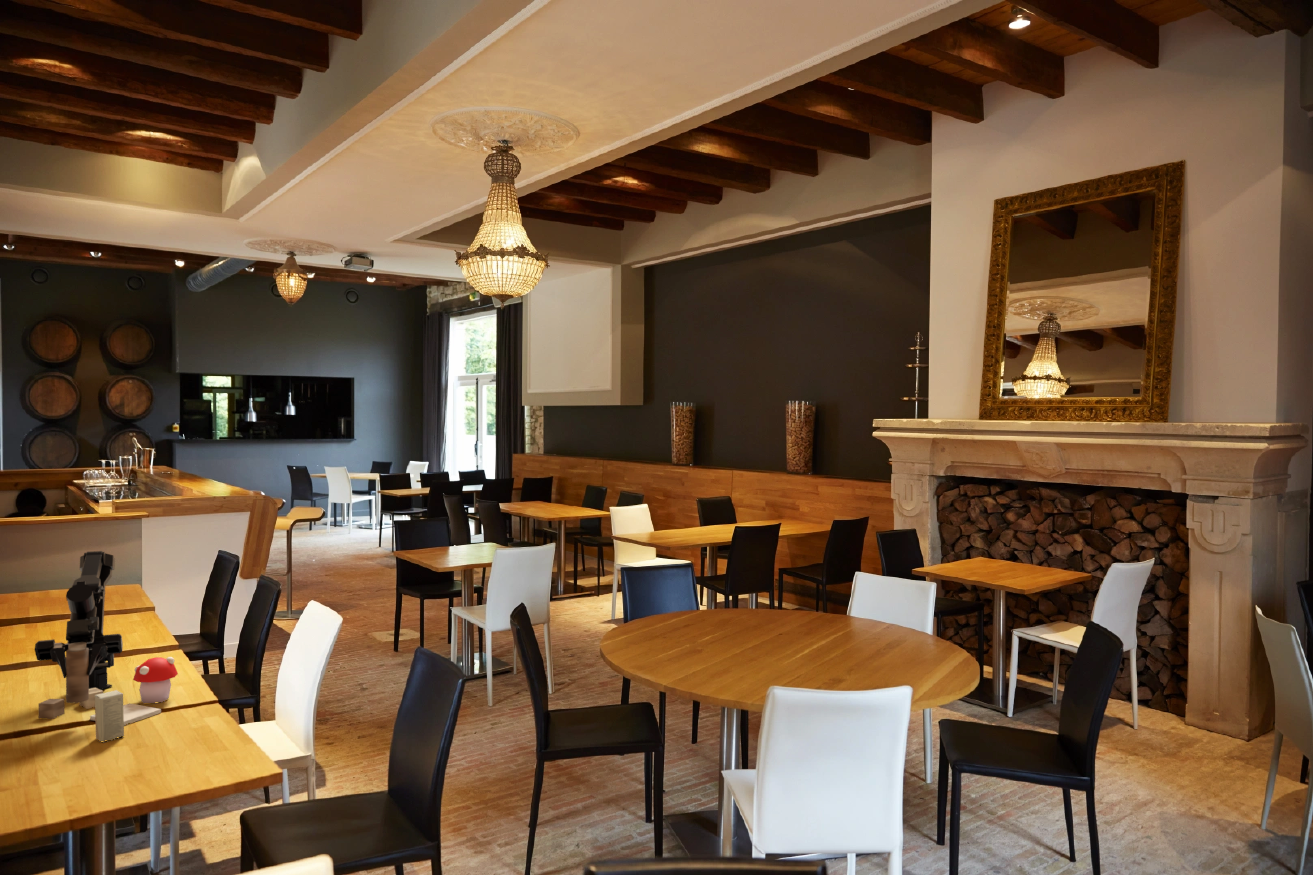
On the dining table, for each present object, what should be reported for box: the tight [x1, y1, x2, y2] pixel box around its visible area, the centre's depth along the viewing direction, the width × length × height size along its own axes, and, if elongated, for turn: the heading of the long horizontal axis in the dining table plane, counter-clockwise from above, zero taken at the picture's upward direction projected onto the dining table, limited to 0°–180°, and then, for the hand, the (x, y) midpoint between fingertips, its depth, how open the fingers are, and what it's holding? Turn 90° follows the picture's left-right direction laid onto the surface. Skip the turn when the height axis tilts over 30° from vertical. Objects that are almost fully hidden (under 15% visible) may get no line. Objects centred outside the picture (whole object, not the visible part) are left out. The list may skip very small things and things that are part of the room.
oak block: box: [78, 688, 104, 709], centre depth 235 cm, size 5×4×4 cm
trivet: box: [89, 702, 162, 726], centre depth 227 cm, size 12×11×1 cm
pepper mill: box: [65, 642, 89, 704], centre depth 220 cm, size 5×5×14 cm
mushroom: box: [132, 656, 179, 704], centre depth 240 cm, size 11×11×12 cm
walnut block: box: [38, 698, 65, 720], centre depth 227 cm, size 4×4×4 cm
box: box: [94, 689, 125, 742], centre depth 211 cm, size 5×4×11 cm
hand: (76, 675), depth 218 cm, fingers closed on pepper mill, 5 cm apart
